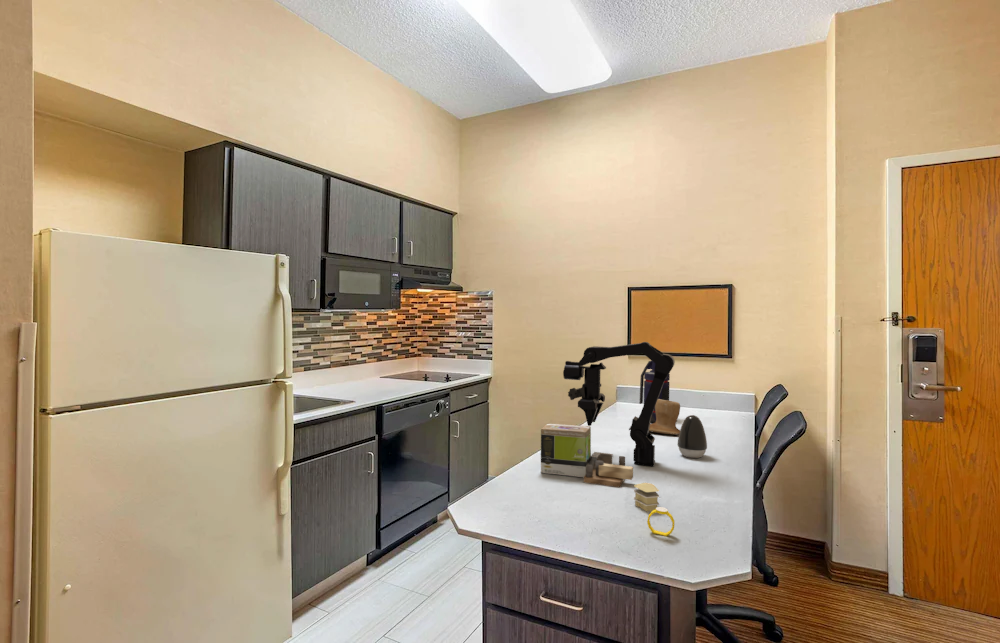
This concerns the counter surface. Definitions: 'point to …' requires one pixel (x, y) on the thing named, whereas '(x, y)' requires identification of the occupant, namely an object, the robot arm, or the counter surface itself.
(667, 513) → the watch
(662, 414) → the tan boot
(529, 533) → the counter surface
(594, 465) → the corner bracket
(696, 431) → the dark egg shaped device
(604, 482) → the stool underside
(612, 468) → the oak leg
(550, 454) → the tea box
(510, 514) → the counter surface
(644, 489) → the stacked layers on plate
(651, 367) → the dark blue tall bottle
